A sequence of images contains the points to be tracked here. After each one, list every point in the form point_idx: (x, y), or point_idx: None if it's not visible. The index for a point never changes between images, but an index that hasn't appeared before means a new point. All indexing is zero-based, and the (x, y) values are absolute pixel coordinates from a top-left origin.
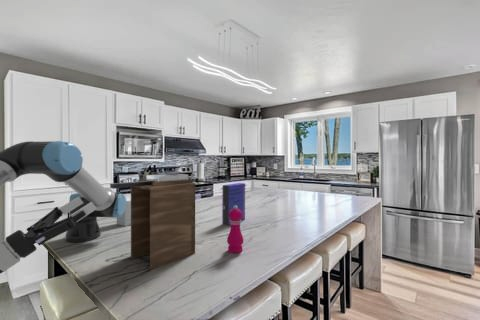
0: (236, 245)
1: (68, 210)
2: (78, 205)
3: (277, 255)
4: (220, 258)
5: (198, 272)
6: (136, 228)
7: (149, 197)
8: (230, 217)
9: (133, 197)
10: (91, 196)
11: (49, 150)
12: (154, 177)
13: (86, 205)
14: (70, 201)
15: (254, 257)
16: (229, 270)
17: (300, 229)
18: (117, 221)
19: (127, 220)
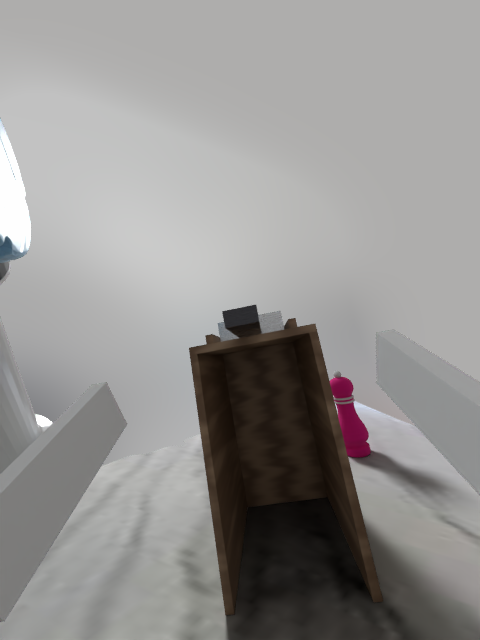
0: (367, 438)
1: (46, 529)
2: (107, 449)
3: (406, 431)
4: (383, 472)
5: (453, 517)
6: (221, 491)
7: (216, 387)
8: (344, 391)
9: (203, 388)
10: None
11: None
12: (259, 318)
13: (421, 348)
14: (47, 429)
15: (402, 445)
16: (455, 478)
17: None
18: None
19: None
